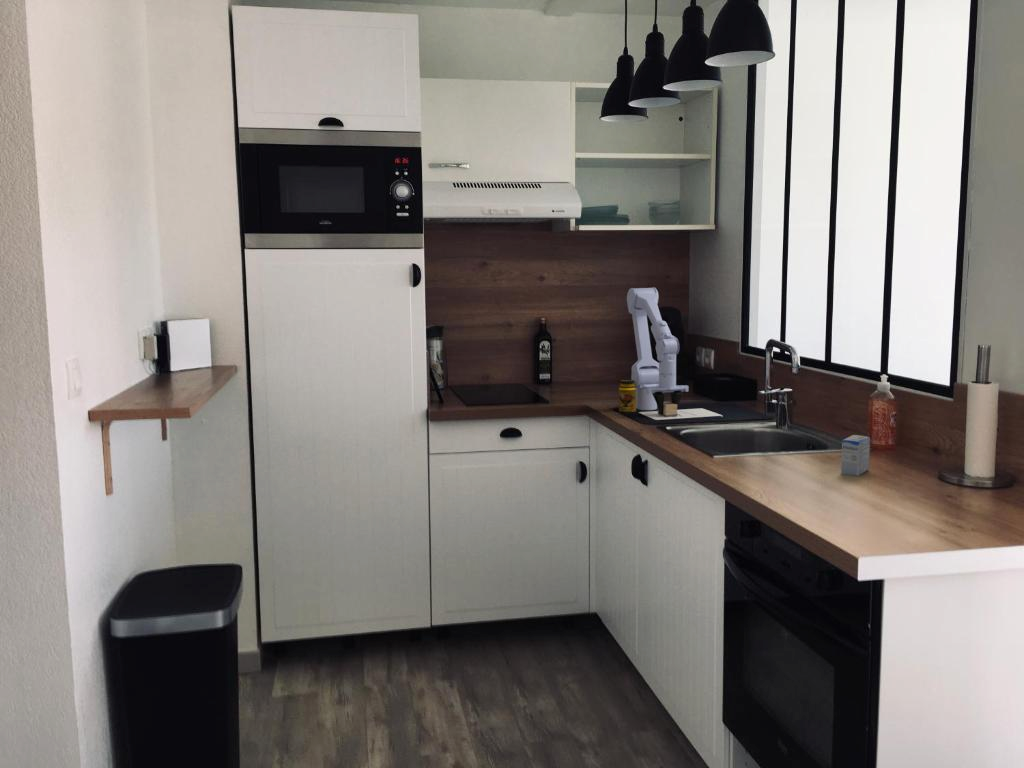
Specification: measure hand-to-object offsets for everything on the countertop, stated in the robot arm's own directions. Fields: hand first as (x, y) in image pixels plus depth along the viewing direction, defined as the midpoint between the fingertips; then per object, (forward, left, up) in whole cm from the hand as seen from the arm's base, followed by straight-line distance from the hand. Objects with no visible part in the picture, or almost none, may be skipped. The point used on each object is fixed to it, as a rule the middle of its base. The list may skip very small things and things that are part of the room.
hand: (667, 413), depth 304 cm
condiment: (-15, -9, -2) cm, 18 cm away
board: (-1, +5, -2) cm, 5 cm away
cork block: (0, 0, -1) cm, 1 cm away
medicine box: (+87, +13, -2) cm, 88 cm away
